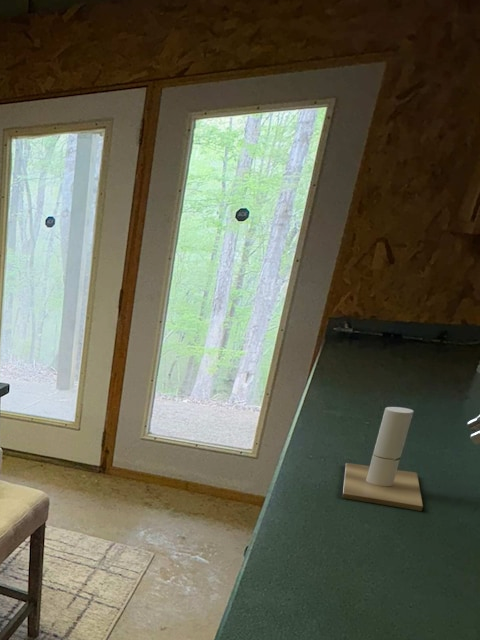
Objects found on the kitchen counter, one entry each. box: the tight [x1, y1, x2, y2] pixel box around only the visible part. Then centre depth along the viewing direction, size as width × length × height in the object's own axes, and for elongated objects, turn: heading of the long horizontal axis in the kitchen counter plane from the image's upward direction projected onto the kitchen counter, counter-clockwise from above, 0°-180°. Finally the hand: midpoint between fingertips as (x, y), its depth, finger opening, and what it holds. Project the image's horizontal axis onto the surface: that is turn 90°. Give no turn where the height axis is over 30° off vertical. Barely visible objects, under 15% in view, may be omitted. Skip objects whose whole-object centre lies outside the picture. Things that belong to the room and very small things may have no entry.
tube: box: [366, 406, 414, 486], centre depth 122 cm, size 4×4×15 cm
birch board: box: [341, 462, 424, 512], centre depth 125 cm, size 20×12×1 cm, turn 144°
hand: (470, 433), depth 115 cm, fingers open, 8 cm apart
